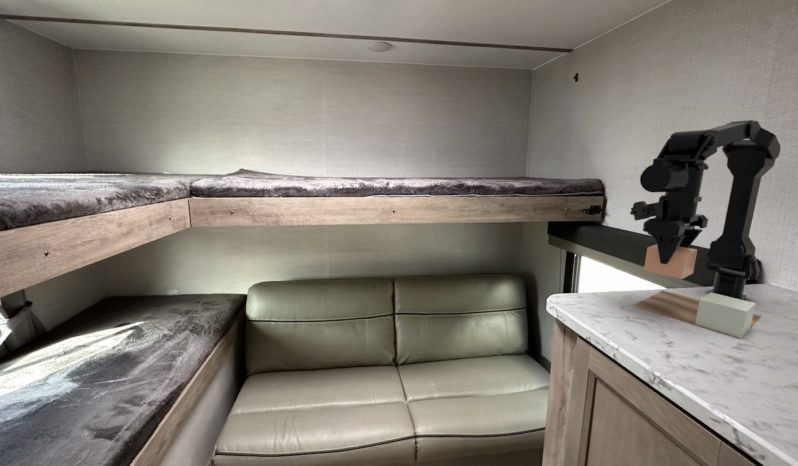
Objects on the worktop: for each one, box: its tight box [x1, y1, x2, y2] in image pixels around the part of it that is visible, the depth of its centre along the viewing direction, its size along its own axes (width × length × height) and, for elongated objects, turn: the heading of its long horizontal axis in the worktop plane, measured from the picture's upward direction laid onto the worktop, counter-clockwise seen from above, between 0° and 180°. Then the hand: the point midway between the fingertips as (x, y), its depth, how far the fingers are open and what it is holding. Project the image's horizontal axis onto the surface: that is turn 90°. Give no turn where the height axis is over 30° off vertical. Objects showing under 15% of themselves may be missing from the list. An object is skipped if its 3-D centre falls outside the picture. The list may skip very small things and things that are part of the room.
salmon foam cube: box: [643, 243, 698, 280], centre depth 77 cm, size 7×7×6 cm
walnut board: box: [632, 290, 763, 340], centre depth 78 cm, size 18×18×1 cm
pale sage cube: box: [695, 292, 757, 339], centre depth 70 cm, size 7×7×6 cm
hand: (670, 261), depth 77 cm, fingers closed on salmon foam cube, 7 cm apart
